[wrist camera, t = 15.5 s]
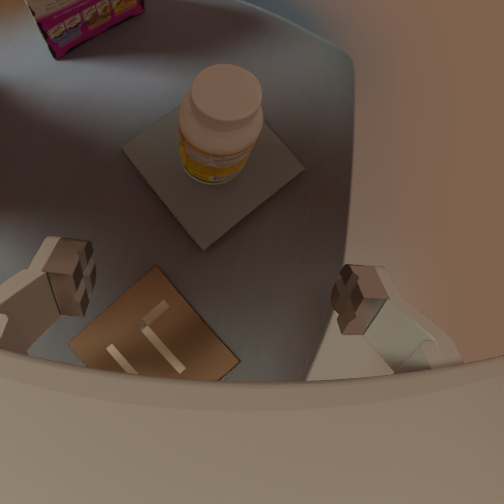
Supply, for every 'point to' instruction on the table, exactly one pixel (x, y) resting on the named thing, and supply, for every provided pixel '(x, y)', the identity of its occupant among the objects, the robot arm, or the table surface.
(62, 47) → the candy bar box
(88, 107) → the table surface
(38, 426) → the robot arm
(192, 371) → the tile
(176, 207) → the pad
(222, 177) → the supplement bottle
